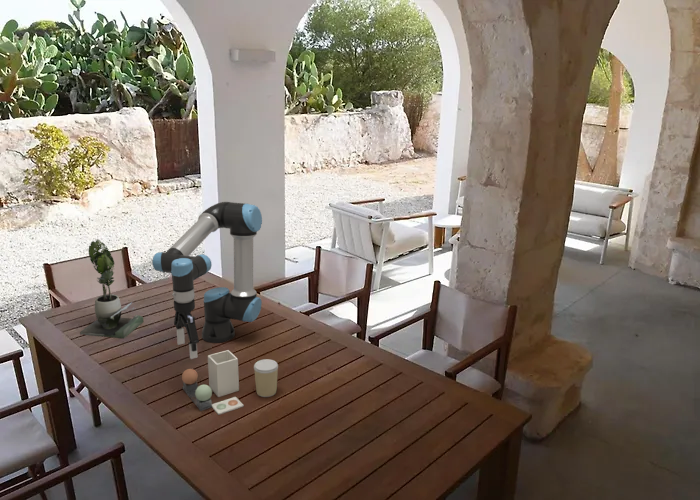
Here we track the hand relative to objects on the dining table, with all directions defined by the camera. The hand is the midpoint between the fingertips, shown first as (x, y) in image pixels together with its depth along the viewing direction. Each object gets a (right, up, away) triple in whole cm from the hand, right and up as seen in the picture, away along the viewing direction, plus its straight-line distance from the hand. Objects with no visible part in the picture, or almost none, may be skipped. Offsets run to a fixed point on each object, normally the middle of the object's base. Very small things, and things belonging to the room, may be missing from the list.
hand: (187, 350), depth 221 cm
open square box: (+13, -16, +6) cm, 21 cm away
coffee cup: (+30, -17, +5) cm, 35 cm away
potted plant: (-52, +1, +55) cm, 76 cm away
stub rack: (+4, -18, 0) cm, 18 cm away
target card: (+17, -20, -6) cm, 26 cm away
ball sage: (+8, -17, -6) cm, 20 cm away
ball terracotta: (0, -14, +4) cm, 14 cm away
